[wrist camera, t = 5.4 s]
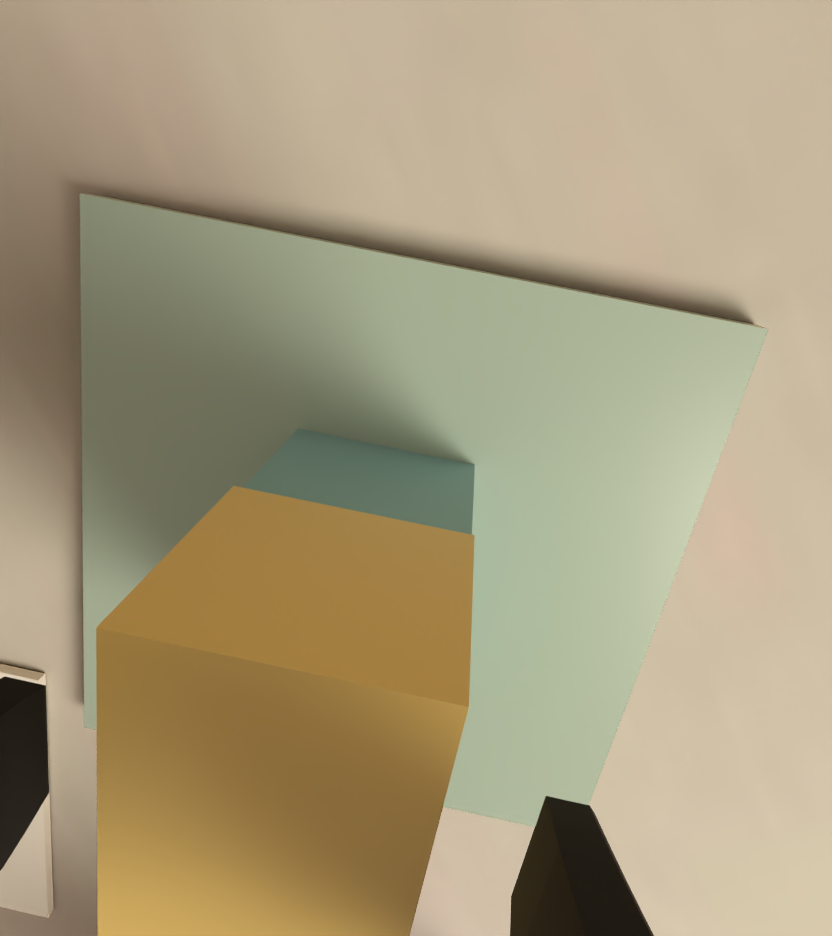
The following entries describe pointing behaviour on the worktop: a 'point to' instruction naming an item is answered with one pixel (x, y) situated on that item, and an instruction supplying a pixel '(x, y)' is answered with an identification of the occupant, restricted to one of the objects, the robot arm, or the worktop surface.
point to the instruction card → (29, 846)
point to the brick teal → (371, 480)
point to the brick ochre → (280, 723)
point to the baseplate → (414, 447)
